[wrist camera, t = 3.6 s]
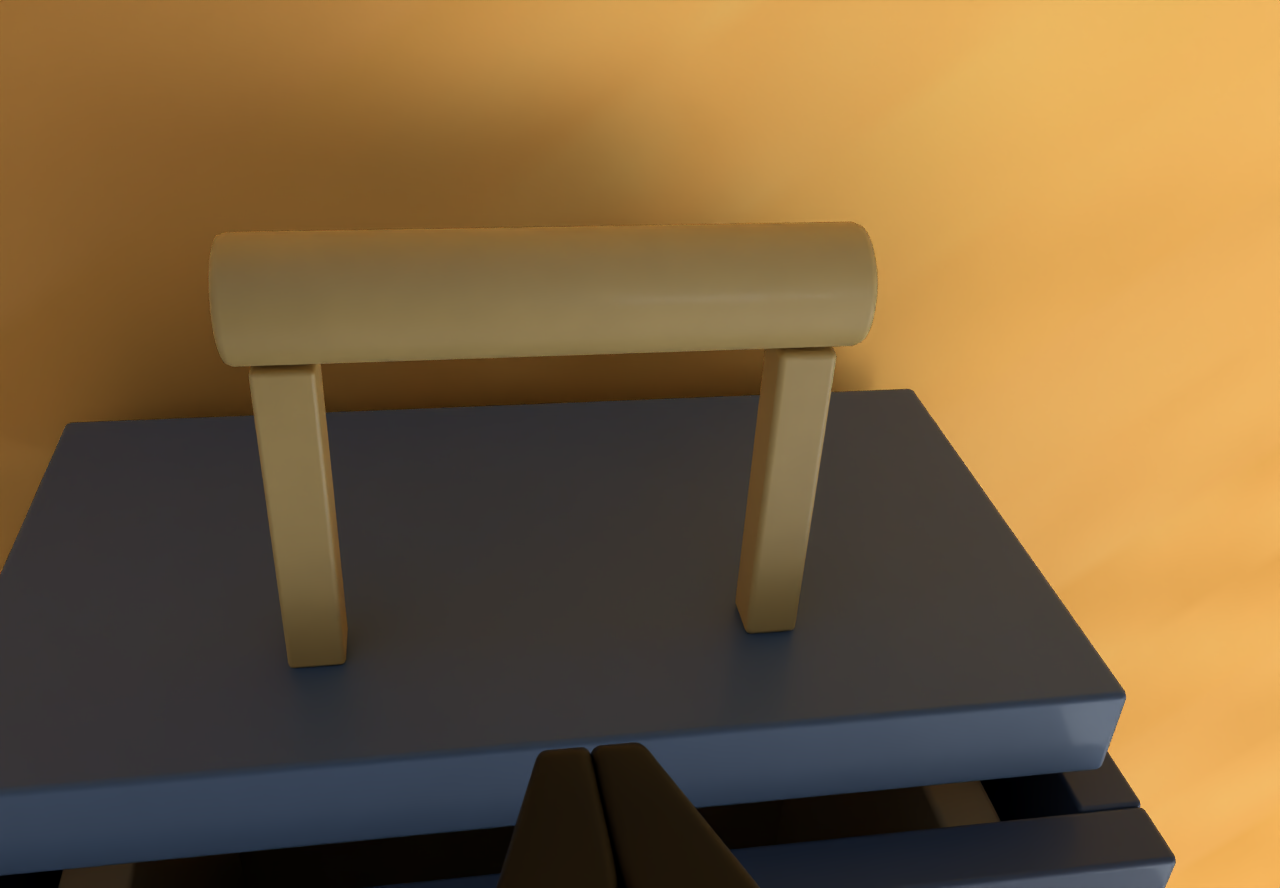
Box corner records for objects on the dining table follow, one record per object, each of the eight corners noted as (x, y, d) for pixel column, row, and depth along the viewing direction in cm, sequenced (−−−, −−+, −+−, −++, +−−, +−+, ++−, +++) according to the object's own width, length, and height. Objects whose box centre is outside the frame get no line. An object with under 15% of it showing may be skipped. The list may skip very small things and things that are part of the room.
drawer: (-18, 71, 14) (-291, 338, 9) (973, 75, 16) (1276, 294, 11) (202, 1004, 24) (141, 1415, 18) (805, 933, 26) (918, 1284, 20)
